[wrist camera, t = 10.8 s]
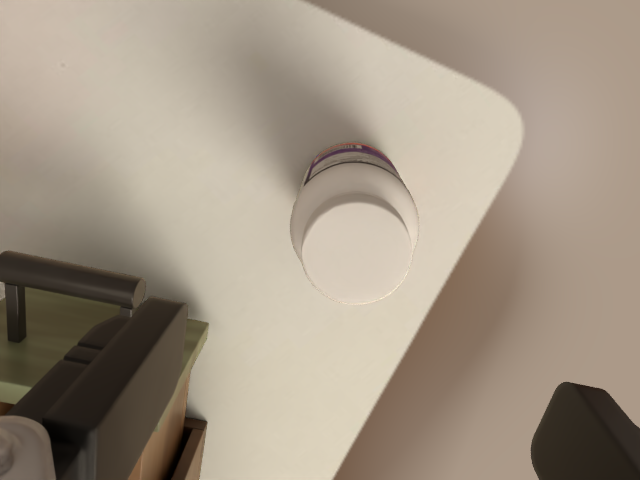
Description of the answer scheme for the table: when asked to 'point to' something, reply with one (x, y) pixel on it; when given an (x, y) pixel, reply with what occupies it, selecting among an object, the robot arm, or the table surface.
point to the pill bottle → (354, 224)
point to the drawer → (69, 327)
